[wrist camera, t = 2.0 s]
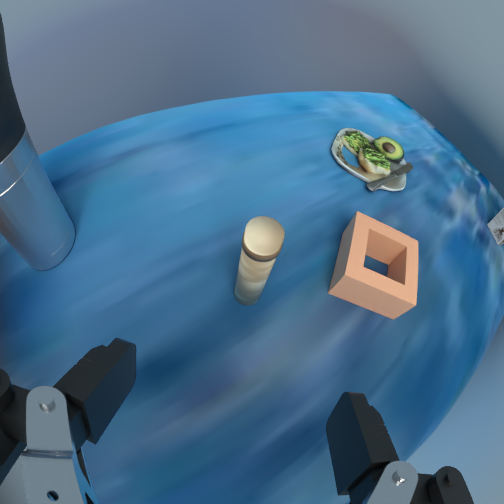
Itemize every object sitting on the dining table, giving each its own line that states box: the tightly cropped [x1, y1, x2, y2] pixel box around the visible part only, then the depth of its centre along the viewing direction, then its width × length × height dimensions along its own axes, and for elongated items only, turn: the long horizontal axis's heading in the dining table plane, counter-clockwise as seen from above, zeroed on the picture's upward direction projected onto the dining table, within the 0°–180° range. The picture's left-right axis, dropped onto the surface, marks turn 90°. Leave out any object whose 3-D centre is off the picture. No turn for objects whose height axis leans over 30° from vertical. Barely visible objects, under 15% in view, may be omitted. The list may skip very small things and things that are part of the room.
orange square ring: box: [328, 211, 418, 319], centre depth 32 cm, size 10×10×5 cm
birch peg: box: [234, 216, 285, 306], centre depth 26 cm, size 3×3×12 cm
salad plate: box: [331, 128, 413, 191], centre depth 46 cm, size 19×18×5 cm
